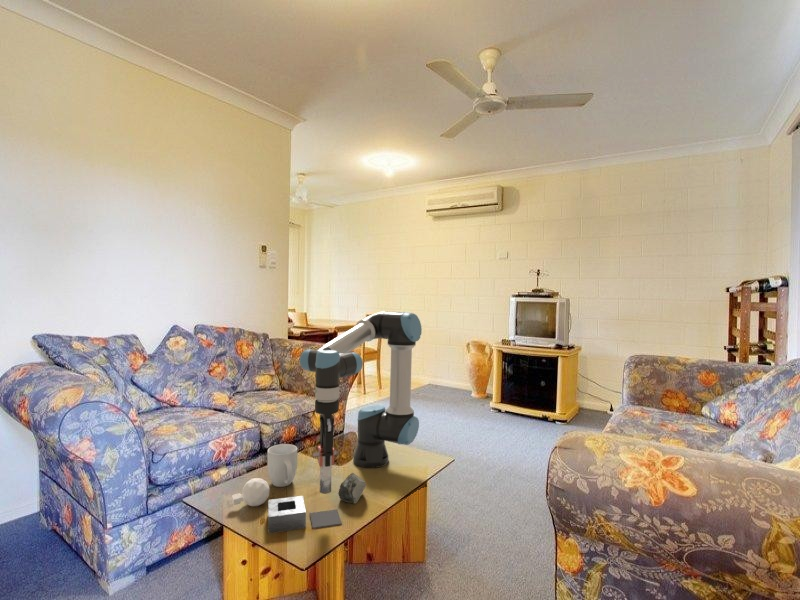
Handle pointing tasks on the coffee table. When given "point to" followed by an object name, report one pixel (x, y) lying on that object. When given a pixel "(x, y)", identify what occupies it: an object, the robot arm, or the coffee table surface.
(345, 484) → the stone
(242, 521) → the coffee table surface
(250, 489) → the perfume bottle
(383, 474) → the coffee table surface
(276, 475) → the mug
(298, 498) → the block
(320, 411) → the robot arm
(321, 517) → the mat
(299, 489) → the coffee table surface
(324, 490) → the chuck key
